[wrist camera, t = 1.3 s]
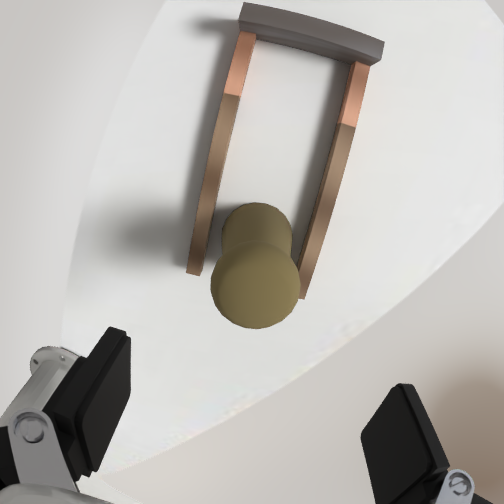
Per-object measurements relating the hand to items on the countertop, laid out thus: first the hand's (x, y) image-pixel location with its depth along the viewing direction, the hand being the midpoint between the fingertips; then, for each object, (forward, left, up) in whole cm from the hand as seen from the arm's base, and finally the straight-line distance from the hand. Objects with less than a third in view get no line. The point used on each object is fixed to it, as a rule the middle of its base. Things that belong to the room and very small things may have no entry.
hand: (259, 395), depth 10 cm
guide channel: (+7, 0, -18) cm, 20 cm away
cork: (0, 0, -19) cm, 19 cm away
